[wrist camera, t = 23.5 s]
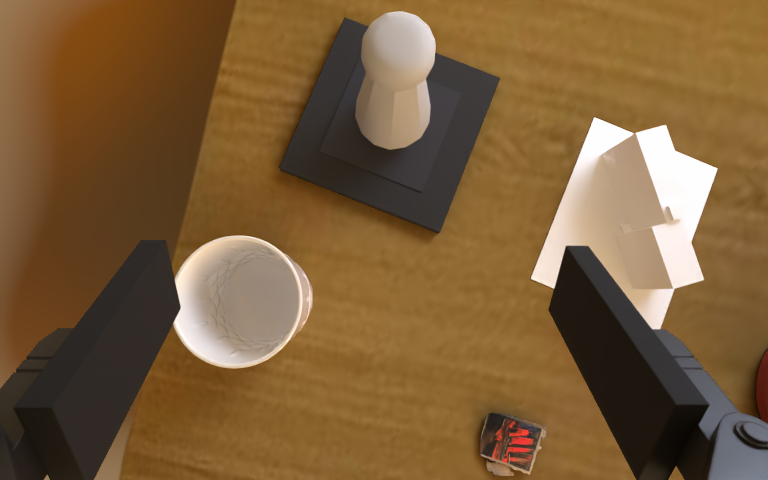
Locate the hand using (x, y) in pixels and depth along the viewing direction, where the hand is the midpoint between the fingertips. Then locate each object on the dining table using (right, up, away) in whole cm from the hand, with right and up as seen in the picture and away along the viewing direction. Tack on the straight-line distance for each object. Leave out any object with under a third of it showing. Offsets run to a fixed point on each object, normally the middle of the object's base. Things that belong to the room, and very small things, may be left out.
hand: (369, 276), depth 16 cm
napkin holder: (+20, +3, +24) cm, 32 cm away
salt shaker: (+1, +11, +23) cm, 26 cm away
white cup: (-8, -3, +23) cm, 24 cm away
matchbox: (+10, -15, +22) cm, 28 cm away
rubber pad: (+1, +11, +24) cm, 27 cm away
